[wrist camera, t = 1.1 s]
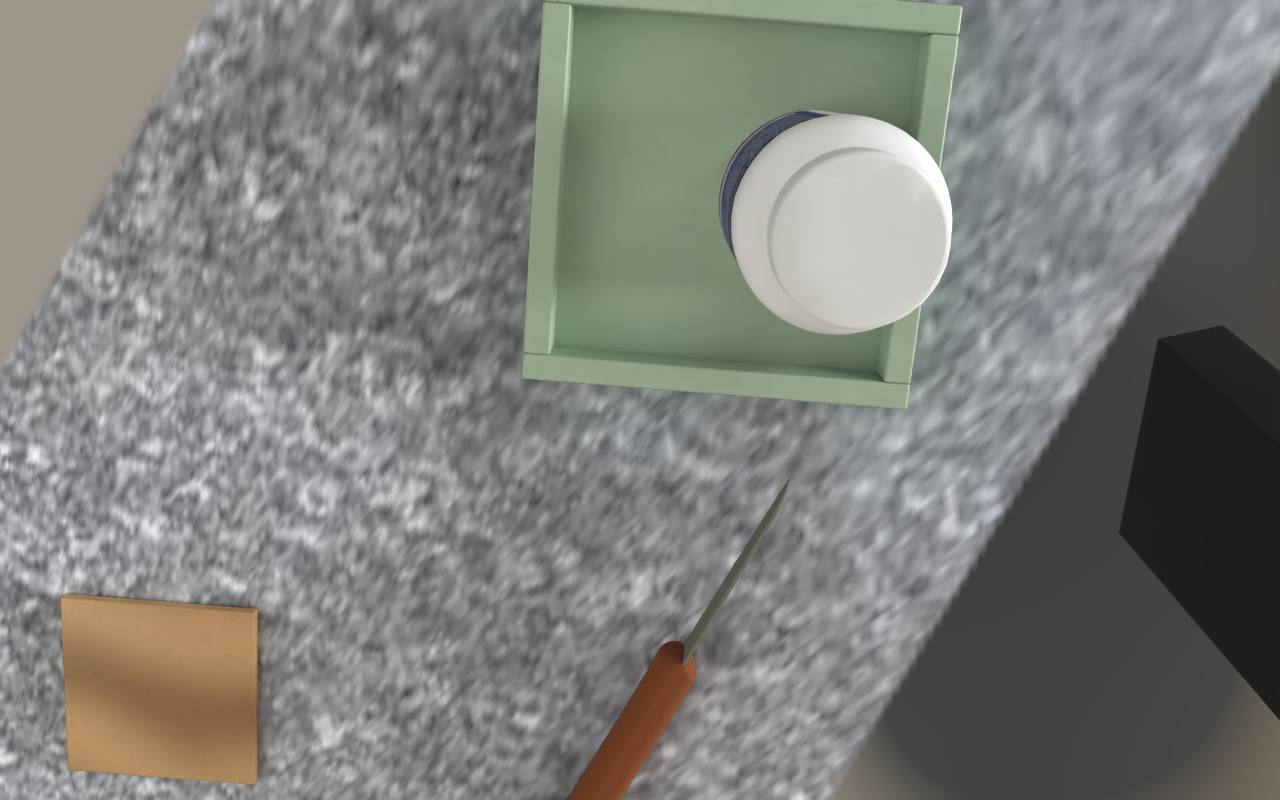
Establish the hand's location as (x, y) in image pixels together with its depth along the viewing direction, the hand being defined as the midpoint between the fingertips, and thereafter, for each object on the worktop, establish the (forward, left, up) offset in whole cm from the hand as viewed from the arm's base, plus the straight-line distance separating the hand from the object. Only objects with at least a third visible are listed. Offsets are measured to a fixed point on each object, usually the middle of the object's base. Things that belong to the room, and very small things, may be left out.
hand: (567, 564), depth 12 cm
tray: (-2, +3, -25) cm, 25 cm away
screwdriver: (+14, +2, -25) cm, 29 cm away
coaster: (+16, -15, -25) cm, 33 cm away
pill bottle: (-2, +5, -25) cm, 25 cm away
